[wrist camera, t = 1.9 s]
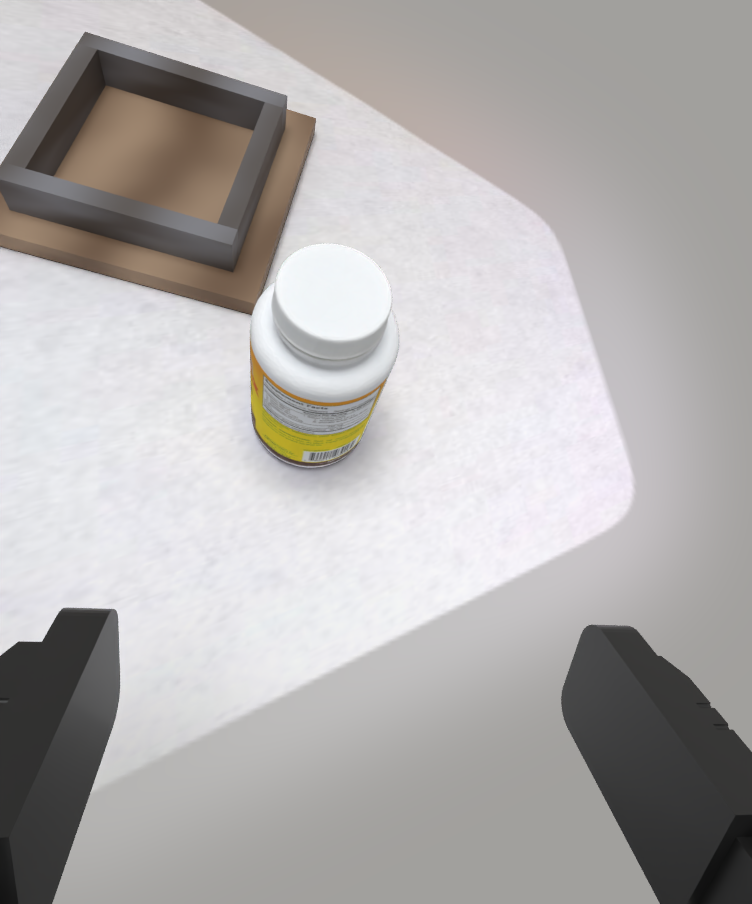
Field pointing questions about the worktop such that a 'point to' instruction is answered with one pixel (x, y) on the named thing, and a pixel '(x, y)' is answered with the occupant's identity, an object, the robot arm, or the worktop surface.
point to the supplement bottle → (320, 353)
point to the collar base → (155, 174)
